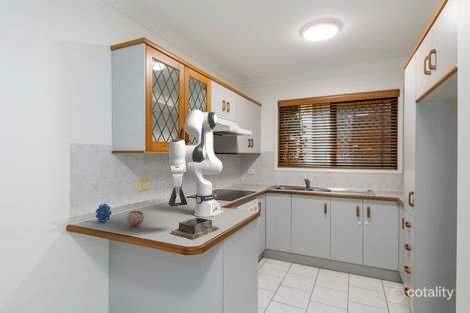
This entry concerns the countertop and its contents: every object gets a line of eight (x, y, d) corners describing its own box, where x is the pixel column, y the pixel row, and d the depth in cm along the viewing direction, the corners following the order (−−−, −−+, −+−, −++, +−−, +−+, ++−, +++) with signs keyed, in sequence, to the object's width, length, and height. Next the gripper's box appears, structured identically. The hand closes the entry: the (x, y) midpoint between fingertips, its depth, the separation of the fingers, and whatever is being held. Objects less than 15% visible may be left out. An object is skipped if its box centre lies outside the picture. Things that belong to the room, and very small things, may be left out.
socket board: (197, 224, 145) (197, 215, 145) (218, 229, 136) (218, 219, 136) (171, 233, 129) (171, 223, 129) (193, 239, 120) (193, 228, 120)
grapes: (116, 221, 153) (116, 202, 153) (108, 224, 147) (107, 204, 147) (101, 220, 157) (101, 201, 157) (92, 223, 150) (92, 203, 150)
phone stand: (184, 202, 137) (184, 181, 137) (187, 204, 132) (187, 182, 132) (168, 204, 133) (168, 182, 133) (170, 206, 128) (170, 183, 127)
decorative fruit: (146, 224, 147) (146, 207, 147) (141, 228, 139) (141, 210, 139) (130, 224, 147) (130, 207, 147) (124, 228, 139) (124, 211, 139)
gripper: (172, 167, 141) (172, 191, 142) (170, 170, 121) (170, 197, 122) (183, 167, 143) (183, 190, 143) (183, 169, 123) (183, 197, 123)
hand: (177, 194), depth 132 cm, fingers closed on phone stand, 6 cm apart
